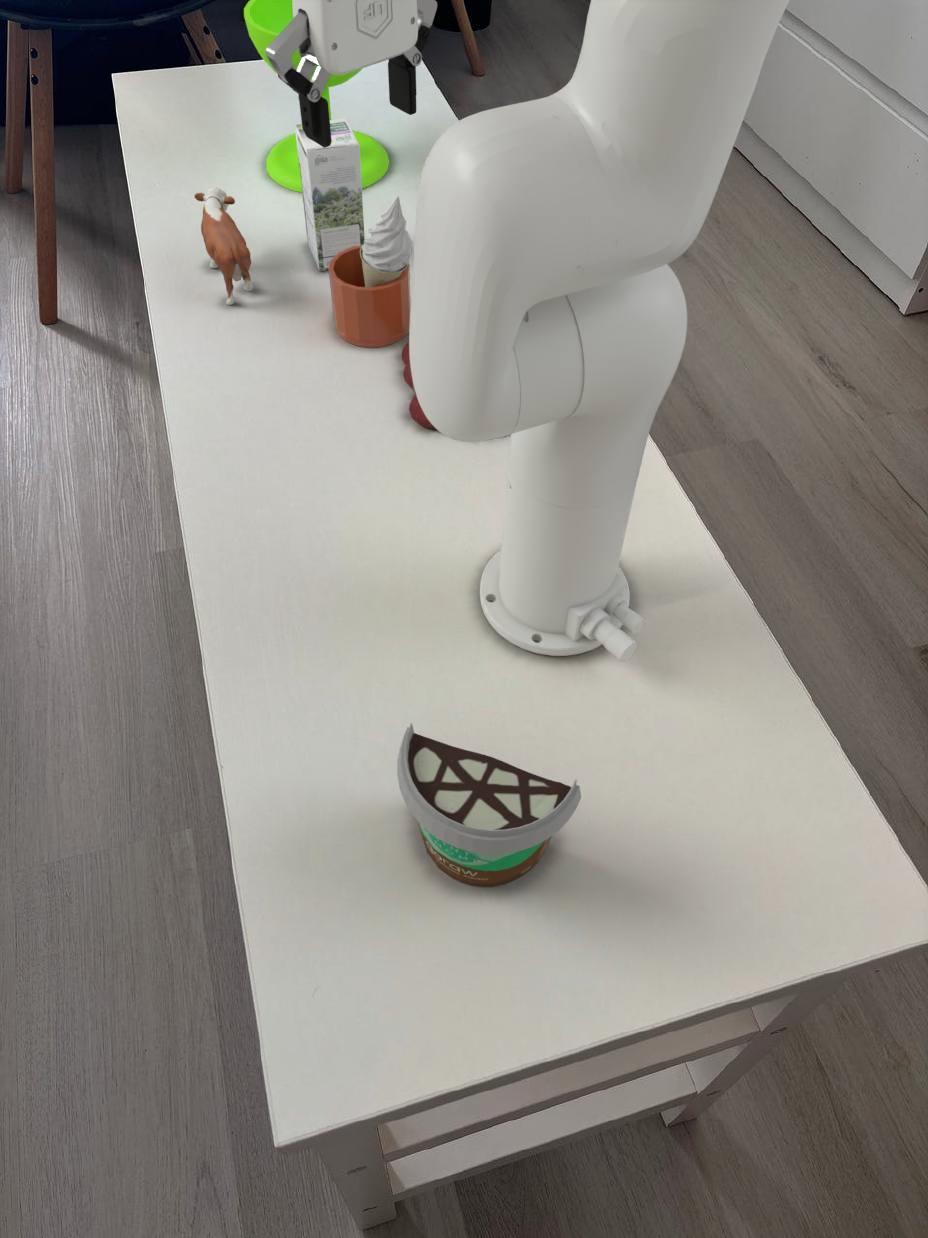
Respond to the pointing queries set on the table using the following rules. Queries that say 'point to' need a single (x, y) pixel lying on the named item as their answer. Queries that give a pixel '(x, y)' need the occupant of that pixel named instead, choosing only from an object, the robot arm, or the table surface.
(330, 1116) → the table surface
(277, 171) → the wineglass
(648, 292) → the robot arm
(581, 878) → the table surface
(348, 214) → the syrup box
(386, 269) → the ice cream cone
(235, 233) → the bull figurine
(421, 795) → the food container
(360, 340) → the holder cup
